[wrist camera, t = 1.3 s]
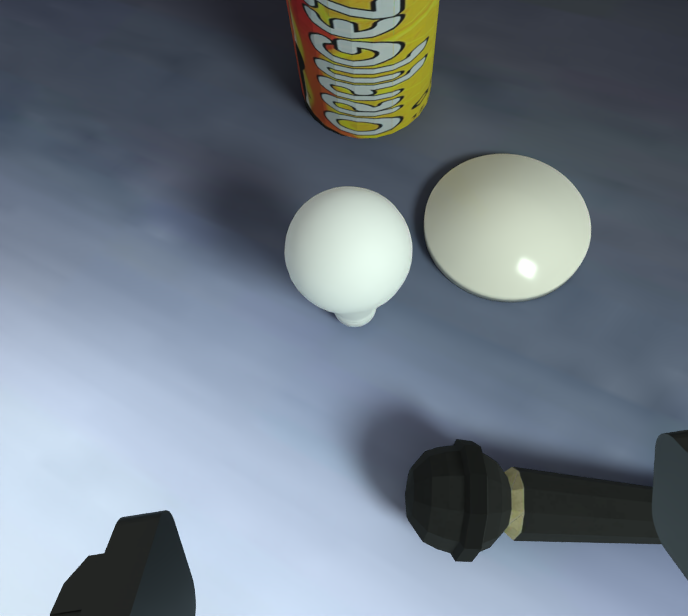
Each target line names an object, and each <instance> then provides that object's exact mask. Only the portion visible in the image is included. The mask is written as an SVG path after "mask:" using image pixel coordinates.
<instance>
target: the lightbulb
mask: <svg viewBox="0 0 688 616" xmlns="http://www.w3.org/2000/svg"><path fill="white" fill-rule="evenodd" d="M284 254H285V262H286V266H287V269H288V272H289V275H290V278H291V280H292V282H293V283H294V285H295V286H296V288H297V289H298V290H299V291H300V292H301V293H302V295H303V296H304V297H305V298H307V299H308V300H309V301H310V302H312V303H313V304H315V305H316V306H318V307H319V308H322V309H324V310H326V311H329V312H333V313H335V315H336V317H337V319H338V320H339V321H340V322H341V323H343V324H344V325H347V326H350V327H359V326H363V325H365V324H367V323H368V322H369V321H370V320H371V319H372V318H373V317H374V314H375V312H376V308H377V307H379V306H381V305H382V304H384V303H386V302H387V301H388V300H389V299H390V298H391V297H393V296H394V295H395V293H396V292H397V291H398V289H399V288H400V287H401V285H402V284H403V283H404V281H405V279H406V277H407V275H408V272H409V269H410V265H411V261H412V240H411V236H410V232H409V229H408V226H407V224H406V222H405V220H404V218H403V216H402V215H401V214H400V212H399V211H398V210H397V208H396V207H395V206H394V205H393V204H392V203H391V202H390V201H389V200H388V199H386V198H385V197H383V196H382V195H380V194H378V193H376V192H374V191H371V190H368V189H365V188H359V187H349V186H343V187H337V188H332V189H329V190H326V191H323V192H321V193H319V194H318V195H316V196H314V197H312V198H311V199H310V200H308V201H307V202H306V203H305V204H303V206H302V207H301V208H300V209H299V210H298V211H297V213H296V214H295V216H294V218H293V220H292V221H291V224H290V226H289V229H288V232H287V235H286V241H285V251H284Z"/></svg>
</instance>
